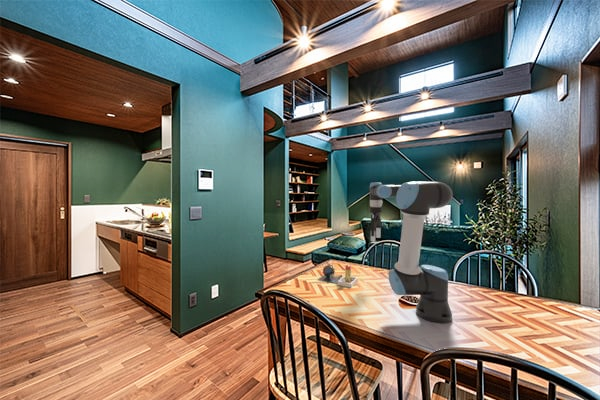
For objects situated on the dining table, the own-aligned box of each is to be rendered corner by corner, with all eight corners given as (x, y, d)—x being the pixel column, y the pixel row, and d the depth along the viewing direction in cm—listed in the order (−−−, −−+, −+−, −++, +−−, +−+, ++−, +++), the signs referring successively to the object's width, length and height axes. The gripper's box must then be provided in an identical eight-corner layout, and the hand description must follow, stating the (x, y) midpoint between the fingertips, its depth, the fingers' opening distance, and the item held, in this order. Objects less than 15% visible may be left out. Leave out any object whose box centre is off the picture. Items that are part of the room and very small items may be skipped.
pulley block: (338, 285, 152) (337, 271, 152) (317, 281, 160) (316, 268, 160) (345, 279, 163) (345, 266, 163) (325, 275, 171) (325, 263, 171)
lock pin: (349, 284, 153) (349, 267, 152) (344, 283, 155) (344, 266, 154) (351, 282, 156) (351, 265, 155) (346, 281, 157) (346, 265, 157)
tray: (351, 288, 147) (351, 283, 147) (337, 285, 152) (337, 281, 152) (358, 281, 158) (358, 277, 158) (345, 279, 163) (345, 275, 163)
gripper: (377, 207, 142) (376, 243, 142) (386, 205, 163) (385, 236, 164) (364, 207, 146) (364, 242, 146) (374, 205, 167) (374, 235, 168)
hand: (375, 239), depth 155 cm, fingers open, 13 cm apart
